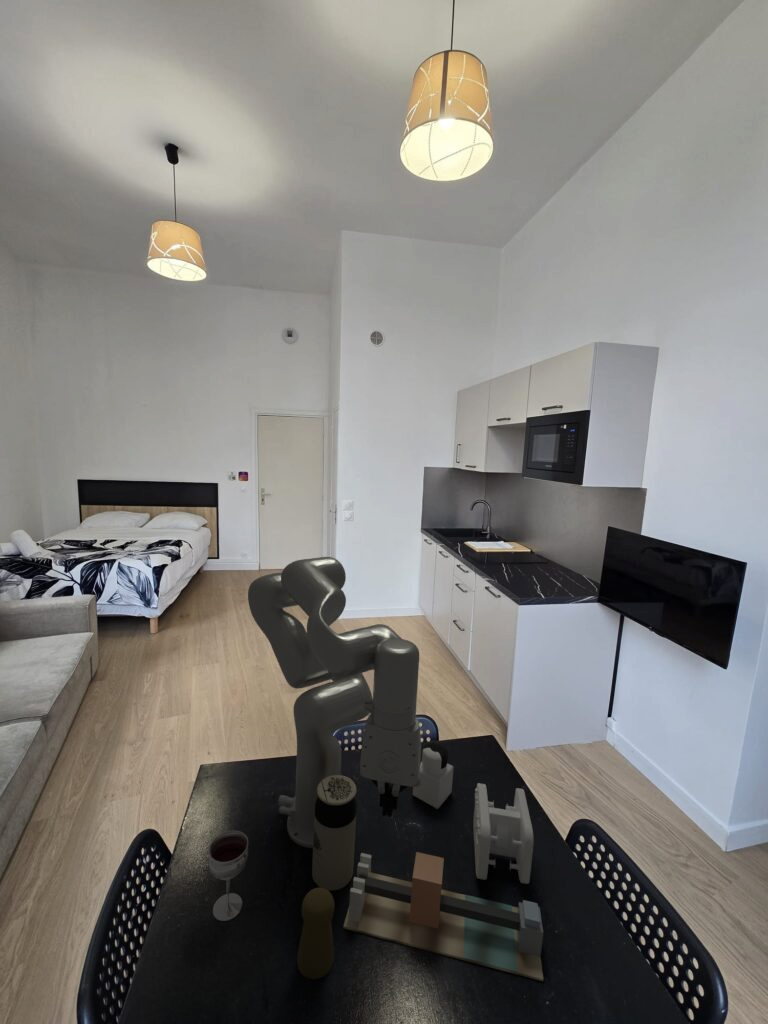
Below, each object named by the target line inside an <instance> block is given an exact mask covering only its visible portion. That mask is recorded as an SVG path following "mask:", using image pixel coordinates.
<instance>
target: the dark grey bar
mask: <svg viewBox="0 0 768 1024" xmlns="http://www.w3.org/2000/svg"><path fill="white" fill-rule="evenodd" d="M359 878H361V879H365V891H364V892H365V893H369V894H373V895H377V896H381V897H385V898H389V899H393V900H397V901H401V902H405V903H409V904H411V891H412V887H408V886H404V885H400V884H396V883H392V882H387V881H383V880H379V879H375V878H371V877H367V876H363V875H359ZM440 911H441V912H445V913H449V914H453V915H458V916H462V917H466V918H470V919H474V920H478V921H482V922H486V923H490V924H494V925H498V926H502V927H506V928H510V929H514V930H518V931H519V928H520V917H519V913H516V912H512V911H508V910H503V909H499V908H495V907H491V906H487V905H483V904H479V903H474V902H470V901H466V900H462V899H458V898H454V897H450V896H445V895H441V899H440Z"/></svg>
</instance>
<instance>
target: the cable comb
mask: <svg viewBox="0 0 768 1024" xmlns="http://www.w3.org/2000/svg"><path fill="white" fill-rule="evenodd" d="M371 873H372V854H367V853H364V852H361V853H360V860H359V862H358V864H357V869H356V876H354V877H353V882H352V887H351V888H350V890H349V905H348V908H349V916H348V919H349V920H352V921H356V922H360V918H361V914H362V910H363V906H364V902H365V898H366V894H367V893H365V892H364V891H365V879H361V878H359V875H363V876H367V877H370V876H371Z"/></svg>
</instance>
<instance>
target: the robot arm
mask: <svg viewBox="0 0 768 1024" xmlns="http://www.w3.org/2000/svg"><path fill="white" fill-rule="evenodd" d="M346 579H347V577H346V571H345V567H344V566H343V564H342V563H341V562H340V560H338V559H336V558H335V557H333V556H321V557H312V558H303V559H297V560H295V561H291V562H290V563H288V564H286V566H285V567H284V568H283V569H282V571H281V572H274V573H269V574H265V575H263V576H260V577H257V578H256V579H254V580H253V581H252V582H251V584H250V585H249V587H248V591H247V602H248V606H249V610H250V613H251V616H252V618H253V620H254V621H255V623H256V625H257V626H258V627H259V629H260V630H261V632H262V633H263V634H264V636H265V637H266V639H267V641H268V642H269V644H270V646H271V648H272V651H273V653H274V656H275V658H276V661H277V663H278V665H279V668H280V670H281V672H282V674H283V676H284V679H285V680H286V683H287V684H288V686H290V687H291V688H293V689H297V690H298V689H304V688H307V687H312V686H313V687H312V688H309V689H308V690H306V691H304V692H302V693H301V694H300V695H299V696H298V697H297V698H296V700H295V701H294V704H293V709H292V711H293V718H294V725H295V733H296V765H295V768H296V769H295V772H296V773H295V774H296V775H295V792H294V793H295V794H294V795H295V796H293V797H289V796H288V795H283V794H281V795H279V797H278V801H277V805H279V808H278V813H279V814H283V815H287V817H288V818H287V823H286V829H287V833H288V836H289V838H290V839H291V840H292V842H294V843H295V844H297V845H299V846H301V847H304V848H306V849H307V848H308V849H313V840H314V817H315V802H316V799H317V798H318V795H317V787H318V785H319V783H320V782H321V781H322V780H323V779H325V778H327V777H329V776H333V775H341V770H342V769H341V768H342V747H341V744H340V742H339V740H338V739H337V738H336V737H335V736H334V733H335V732H337V731H338V730H341V729H342V728H345V727H346V726H349V725H351V724H354V723H357V722H359V721H361V720H363V719H365V718H366V717H367V718H366V722H365V724H364V725H365V726H364V730H363V731H364V732H363V738H362V742H361V743H362V744H361V753H360V762H359V775H360V776H361V777H363V778H366V779H368V780H371V782H372V783H373V784H374V785H375V787H376V788H377V791H378V793H379V794H380V795H379V807H382V810H381V811H382V815H381V816H383V817H386V816H388V817H389V818H392V817H393V812H394V810H396V811H397V809H398V804H399V794H400V793H401V792H402V791H404V790H405V789H407V788H408V787H410V788H413V787H418V786H420V784H421V776H420V765H421V762H422V737H421V727H420V722H419V719H418V717H417V713H416V712H417V699H418V685H419V684H418V683H419V670H420V669H419V666H420V651H419V648H418V646H417V645H416V644H415V643H414V642H412V641H410V640H408V639H404V638H402V637H401V636H400V635H399V634H398V633H397V632H396V631H394V630H393V629H392V628H391V627H390V626H389V625H386V624H381V623H380V624H379V623H378V624H374V625H369V626H365V627H360V628H357V629H356V628H355V629H352V630H347V631H344V632H340V633H337V632H335V631H334V630H333V629H332V627H330V626H331V625H332V624H333V623H335V622H336V621H337V620H338V619H339V618H340V616H342V614H343V612H344V610H345V607H346V603H347V597H346V595H345V593H344V591H343V587H344V586H345V584H346ZM296 606H299V608H301V610H302V611H303V612H304V613H305V615H307V617H308V619H307V623H306V628H305V626H304V625H303V623H302V622H301V621H300V620H299V619H298V618H296V616H294V615H292V614H291V613H289V612H287V611H286V610H284V608H289V607H296ZM369 671H373V689H372V691H371V689H370V686H369V684H368V681H367V680H366V678H365V676H364V673H366V672H369ZM330 680H331V682H330ZM327 681H329V682H327ZM323 682H326V683H324V684H320V683H323ZM318 684H320V685H318ZM314 685H317V686H314Z"/></svg>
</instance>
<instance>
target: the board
mask: <svg viewBox="0 0 768 1024" xmlns="http://www.w3.org/2000/svg"><path fill="white" fill-rule="evenodd" d="M370 877H371V878H375V879H379V880H383V881H387V882H392V883H396V884H400V885H404V886H408V887H412V881H407V880H403V879H399V878H396V877H395V878H394V877H391V876H388V875H387V876H386V875H383V874H379V873H374V872H371V876H370ZM441 895H445V896H450V897H454V898H458V899H462V900H466V901H470V902H474V903H479V904H483V905H487V906H491V907H495V908H499V909H503V910H508V911H512V912H516V913H518V906H512V905H510V904H506V903H502V902H497V901H494V900H489V899H485V898H481V897H476V896H472V895H468V894H462V893H457V892H453V891H449V890H446V889H442V888H441ZM410 905H411V904H409V903H405V902H401V901H397V900H393V899H389V898H385V897H381V896H377V895H373V894H369V893H367V894H366V898H365V902H364V906H363V910H362V914H361V918H360V922H356V921H352V920H349V919H348V916H349V907H348V909H347V913H346V917H345V919H344V923H343V929H345V930H348V931H353V932H356V933H361V934H362V935H363V934H364V935H367V936H371V937H375V938H379V939H382V940H387V941H389V942H395V943H397V944H400V945H401V944H402V945H405V946H409V947H413V948H416V949H420V950H424V951H428V952H432V953H435V954H439V955H443V956H446V957H450V958H453V959H458V960H462V961H465V962H469V963H473V964H477V965H481V966H483V967H487V968H492V969H495V970H499V971H503V972H506V973H509V974H514V975H518V976H522V977H525V978H527V979H528V978H530V979H533V980H536V981H541V982H544V973H543V966H542V958H541V957H539V956H535V955H531V954H527V953H523V952H519V950H518V938H517V930H514V929H510V928H506V927H502V926H498V925H494V924H490V923H486V922H482V921H478V920H474V919H470V918H466V917H462V916H458V915H453V914H449V913H445V912H441V911H439V923H438V929H437V928H433V927H429V926H425V925H421V924H417V923H413V922H409V918H410Z"/></svg>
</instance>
